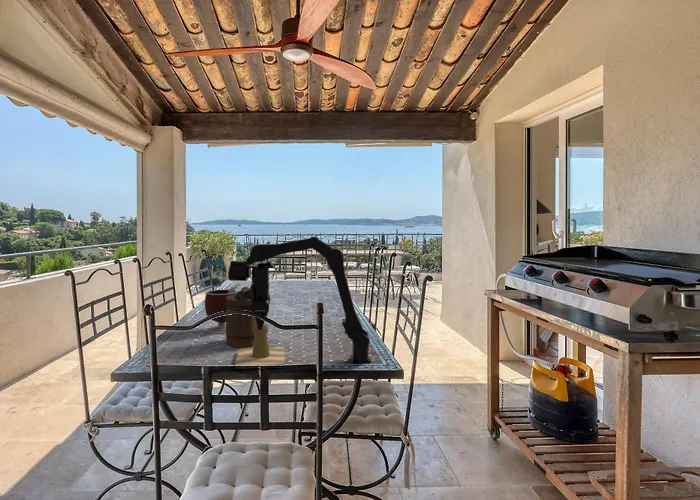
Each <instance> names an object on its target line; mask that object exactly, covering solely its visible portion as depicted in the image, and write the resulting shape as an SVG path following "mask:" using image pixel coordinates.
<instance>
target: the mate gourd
mask: <svg viewBox="0 0 700 500" xmlns="http://www.w3.org/2000/svg"><path fill="white" fill-rule="evenodd" d="M240 286H241V283H238V284H236V285H234V286H232V287H231V288H229V289H227V288H226V289H213V290H212V289H211V290H208V291H206V292H205V297H204V310H205V314H206V316H207V317H208V316H209V315H212V314H214V313H217V312H221V311H226V307H227V306H226V300H227V297H228V296H231V295H235V293H237V292H238V290H236V289H237V288H238V287H240ZM211 321H213V322H215V323H218V324H217V326H212V327H209V328H207V329H206V331H207V333H208V334H210V333H211V335H226V316H221V317H217V318H214V319H212V320H211Z"/></svg>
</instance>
